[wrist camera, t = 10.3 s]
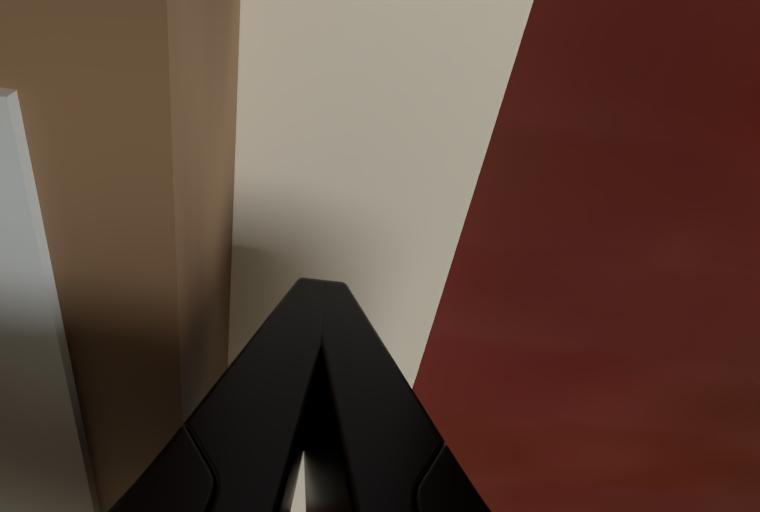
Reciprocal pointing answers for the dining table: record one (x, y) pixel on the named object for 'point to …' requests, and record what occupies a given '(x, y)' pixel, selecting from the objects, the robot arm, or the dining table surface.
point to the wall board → (362, 154)
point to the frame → (110, 237)
